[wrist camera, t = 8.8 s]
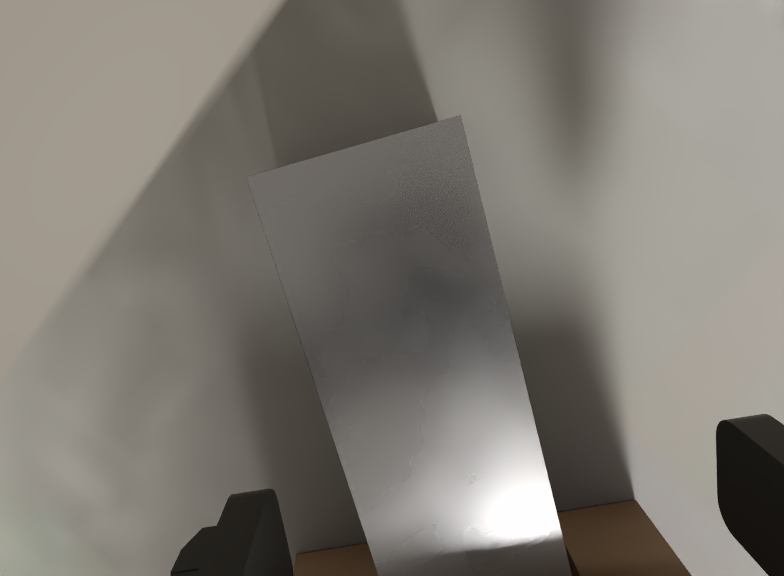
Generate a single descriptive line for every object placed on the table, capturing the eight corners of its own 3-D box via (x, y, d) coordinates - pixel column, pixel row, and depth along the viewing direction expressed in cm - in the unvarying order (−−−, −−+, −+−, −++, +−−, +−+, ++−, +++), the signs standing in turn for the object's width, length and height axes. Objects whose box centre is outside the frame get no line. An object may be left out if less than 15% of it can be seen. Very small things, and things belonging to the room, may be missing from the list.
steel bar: (569, 648, 18) (622, 784, 14) (442, 680, 18) (461, 824, 15) (437, 122, 15) (460, 114, 11) (279, 168, 15) (246, 177, 11)
